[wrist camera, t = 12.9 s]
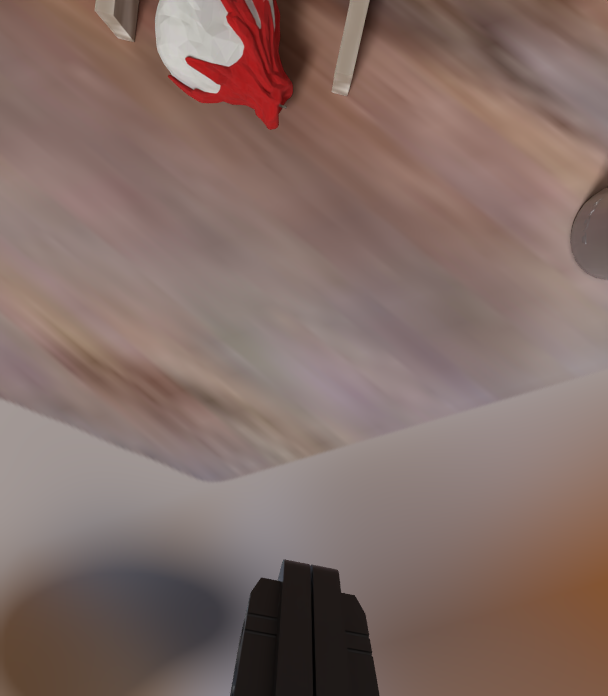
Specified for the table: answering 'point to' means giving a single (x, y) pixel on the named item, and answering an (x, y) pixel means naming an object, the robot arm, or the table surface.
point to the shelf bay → (121, 17)
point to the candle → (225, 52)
